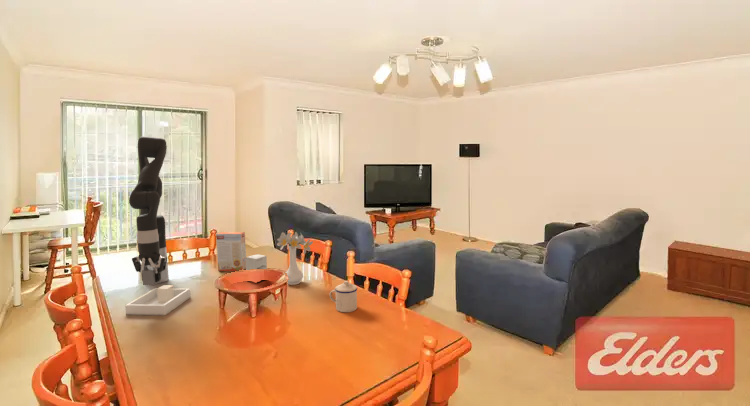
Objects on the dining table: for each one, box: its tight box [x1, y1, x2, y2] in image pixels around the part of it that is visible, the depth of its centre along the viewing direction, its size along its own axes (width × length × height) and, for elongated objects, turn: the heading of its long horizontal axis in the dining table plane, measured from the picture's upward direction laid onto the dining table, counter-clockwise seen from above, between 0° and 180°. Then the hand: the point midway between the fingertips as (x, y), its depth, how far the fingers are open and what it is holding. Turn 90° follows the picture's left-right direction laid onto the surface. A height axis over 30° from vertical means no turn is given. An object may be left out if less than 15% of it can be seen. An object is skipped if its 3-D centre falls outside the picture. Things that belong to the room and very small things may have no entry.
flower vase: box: [276, 231, 314, 286], centre depth 196 cm, size 13×18×25 cm
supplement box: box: [245, 254, 268, 270], centre depth 201 cm, size 7×7×13 cm
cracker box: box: [215, 231, 247, 272], centre depth 219 cm, size 14×6×21 cm, turn 84°
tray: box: [124, 287, 191, 316], centre depth 169 cm, size 16×20×4 cm
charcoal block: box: [141, 268, 160, 286], centre depth 163 cm, size 4×4×6 cm
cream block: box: [156, 284, 174, 302], centre depth 174 cm, size 4×4×6 cm
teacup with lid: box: [328, 280, 358, 313], centre depth 165 cm, size 12×9×12 cm
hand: (151, 281), depth 164 cm, fingers closed on charcoal block, 4 cm apart
